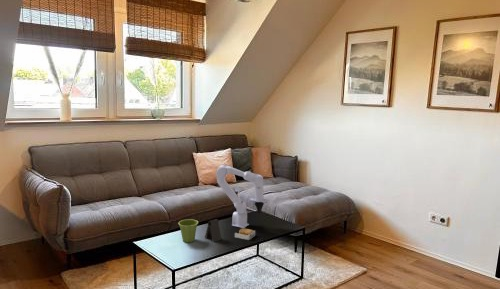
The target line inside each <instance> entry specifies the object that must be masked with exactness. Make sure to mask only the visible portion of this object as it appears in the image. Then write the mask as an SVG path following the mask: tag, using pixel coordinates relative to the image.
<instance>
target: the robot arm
mask: <svg viewBox="0 0 500 289" xmlns="http://www.w3.org/2000/svg"><path fill="white" fill-rule="evenodd" d="M231 174H232V175H236V176H239V177H242V178H243V179H244V180H245V181H248V182H251V183H254V197H250V198H248V202H249V203H250V202H252V203H254V205H255V206H254V207H255V208H256V210H257V214H261V213H262V209H263V206H264V204H268V205H269V204H270V203H271V200H270V199H265V198H264V176H263V175H261V174H260V173H259V174H257V173H253V172H252V171H251V170H248V171H242V170H240V169H237V168H235V167H232V166H230V165H226V164H220V166H219V167H218V168H217V169H216V173H215V176H216V182H217V185H218V186H219V187H220V188H221V190H222V191H224V193H225V194H226V196H227V197H228V198H229V199H230V200H231V202H232V203H233V205H234V208H235V209H236V211H234V212H233V213H232V222H231V226H232V227H238V228H240V229H242V228H244V229H246V227H247V226H249V225H250V224H249V223H248V211H247V208H248V204H247V203H246V202H245V201H244V200H242V199H241V198H240V197H239V195H238V194H237V193H236V192H235V191H234V189H232V187H231V186H230V184H228V182H227V180H226V175H227V176H228V175H231Z"/></svg>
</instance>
